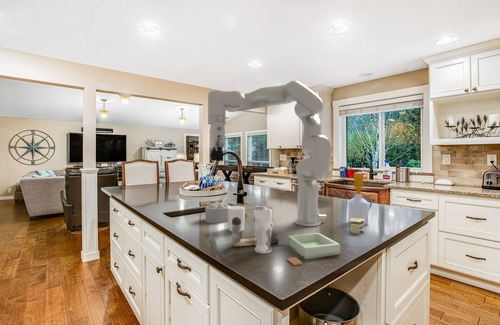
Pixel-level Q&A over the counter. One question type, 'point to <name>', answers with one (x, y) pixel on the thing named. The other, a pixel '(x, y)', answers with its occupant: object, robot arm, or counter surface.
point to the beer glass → (263, 228)
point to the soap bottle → (358, 201)
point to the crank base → (292, 260)
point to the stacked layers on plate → (356, 225)
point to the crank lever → (248, 241)
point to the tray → (313, 245)
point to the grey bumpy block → (216, 213)
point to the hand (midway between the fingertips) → (216, 160)
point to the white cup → (236, 215)
